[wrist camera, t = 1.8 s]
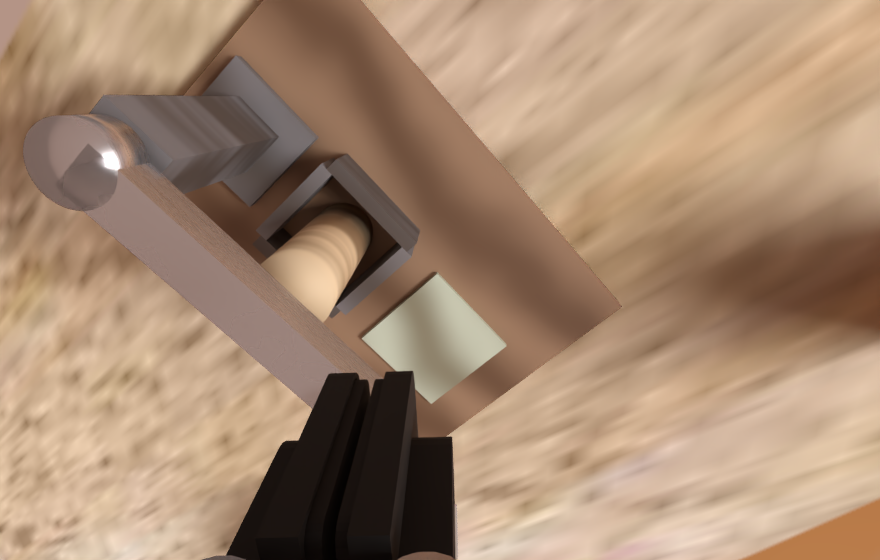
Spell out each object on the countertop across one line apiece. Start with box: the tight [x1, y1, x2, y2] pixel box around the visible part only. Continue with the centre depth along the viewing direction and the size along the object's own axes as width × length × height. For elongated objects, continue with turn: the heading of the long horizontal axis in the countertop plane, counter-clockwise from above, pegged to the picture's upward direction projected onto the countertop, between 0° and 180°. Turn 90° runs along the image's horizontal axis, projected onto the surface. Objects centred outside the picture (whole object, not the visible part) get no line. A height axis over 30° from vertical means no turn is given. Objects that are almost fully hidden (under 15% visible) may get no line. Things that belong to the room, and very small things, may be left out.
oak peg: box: [261, 203, 373, 322], centre depth 26 cm, size 4×4×11 cm
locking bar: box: [23, 114, 383, 409], centre depth 18 cm, size 16×3×3 cm, turn 42°
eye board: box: [89, 0, 622, 437], centre depth 27 cm, size 20×28×14 cm
